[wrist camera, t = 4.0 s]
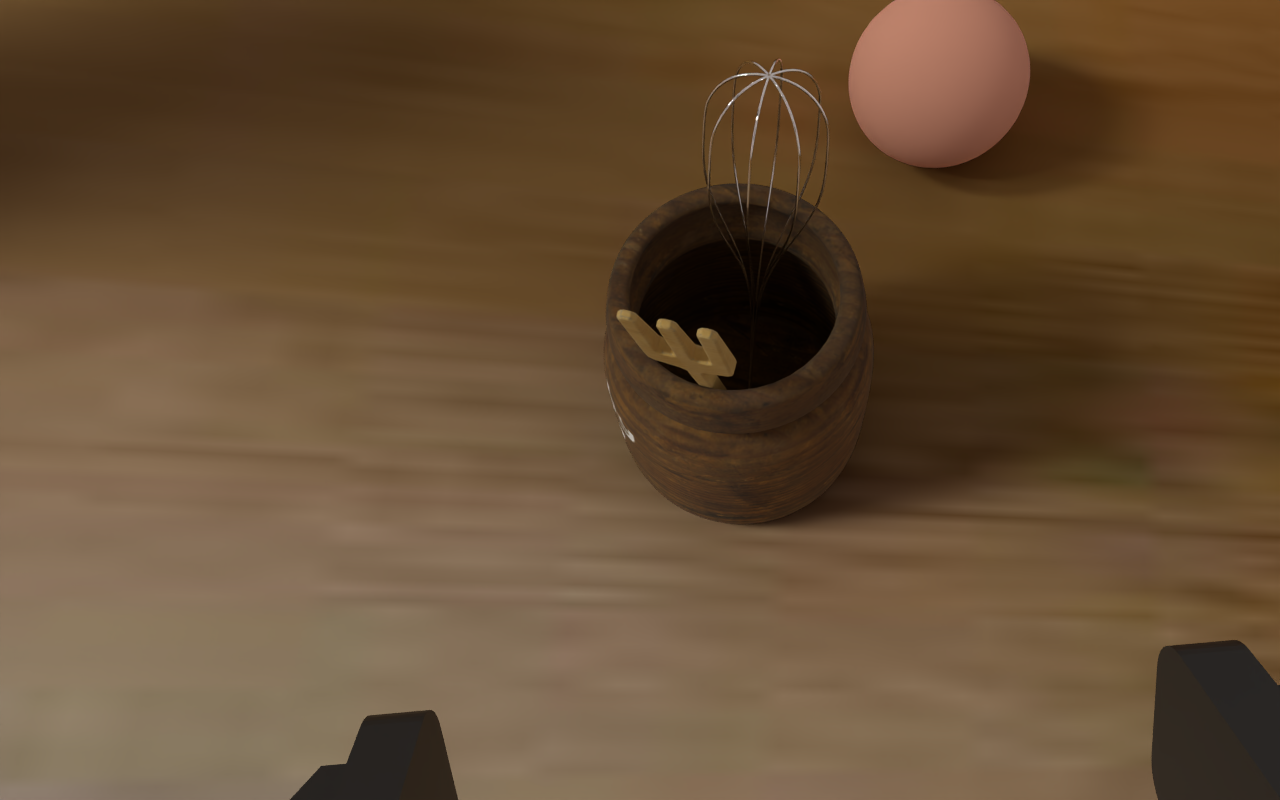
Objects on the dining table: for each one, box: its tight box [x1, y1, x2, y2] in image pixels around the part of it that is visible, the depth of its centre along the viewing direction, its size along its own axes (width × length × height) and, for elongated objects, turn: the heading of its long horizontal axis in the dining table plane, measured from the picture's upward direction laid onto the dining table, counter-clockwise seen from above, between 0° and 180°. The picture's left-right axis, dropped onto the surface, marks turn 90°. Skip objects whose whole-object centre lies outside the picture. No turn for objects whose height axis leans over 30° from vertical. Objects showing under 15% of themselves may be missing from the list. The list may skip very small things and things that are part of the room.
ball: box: [849, 0, 1030, 168], centre depth 29 cm, size 4×4×4 cm
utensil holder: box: [604, 58, 874, 524], centre depth 23 cm, size 6×6×12 cm
